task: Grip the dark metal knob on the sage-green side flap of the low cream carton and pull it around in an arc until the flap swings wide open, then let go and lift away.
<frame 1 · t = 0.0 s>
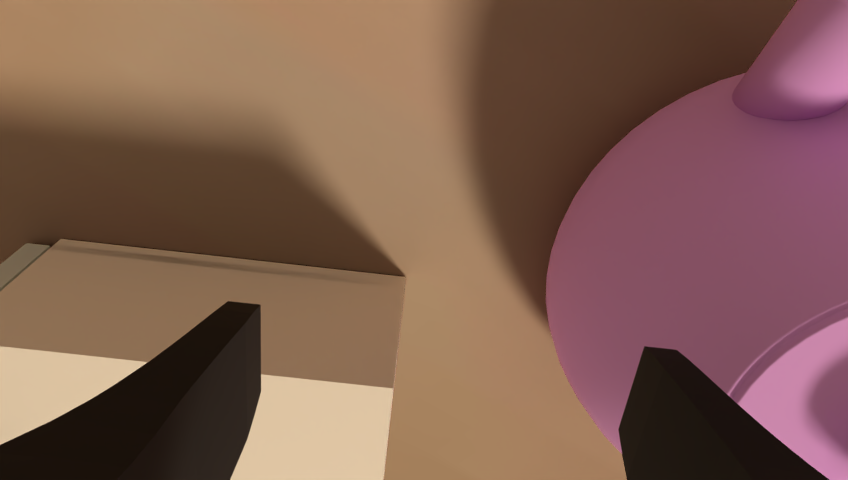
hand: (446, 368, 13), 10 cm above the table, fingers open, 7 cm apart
teapot: (740, 231, 23), on the table
carton: (238, 432, 27), on the table
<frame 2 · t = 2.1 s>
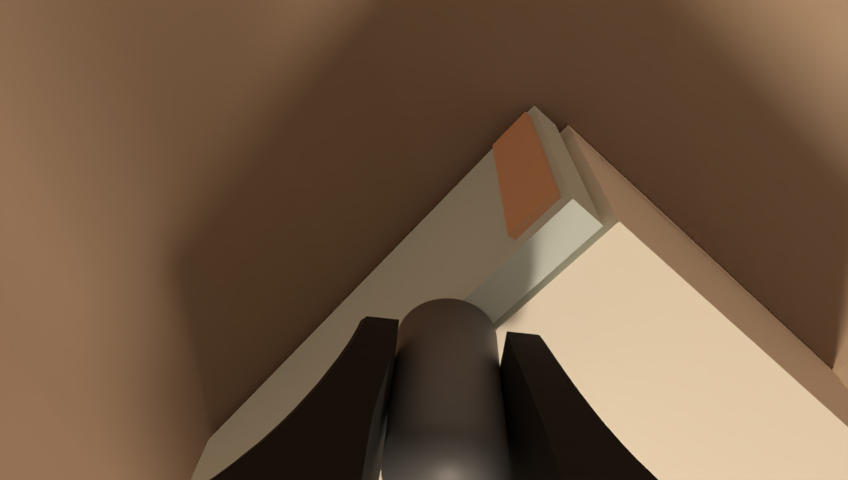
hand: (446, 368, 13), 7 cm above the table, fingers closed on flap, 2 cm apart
flap: (334, 410, 16), point 5 cm above the table, hinge at 0.0°, touching gripper
carton: (516, 415, 22), on the table
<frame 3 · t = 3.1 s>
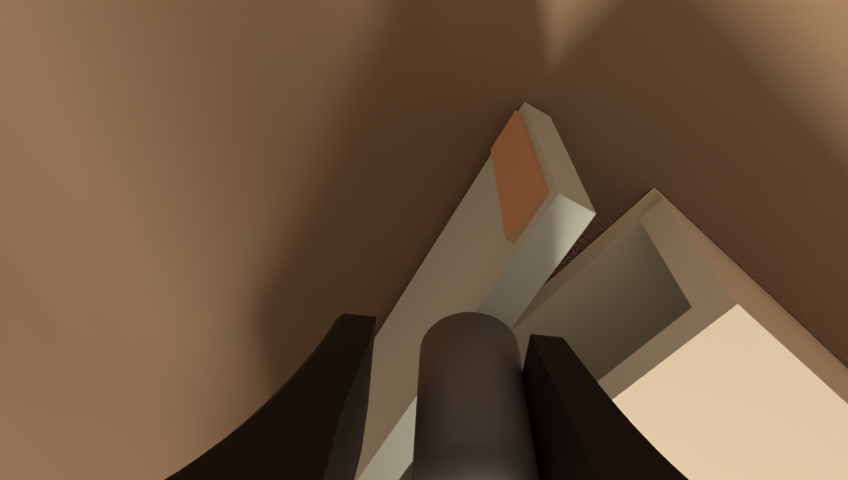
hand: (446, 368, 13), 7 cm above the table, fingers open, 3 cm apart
flap: (383, 437, 16), point 5 cm above the table, hinge at 12.2°, touching gripper
carton: (588, 456, 23), on the table
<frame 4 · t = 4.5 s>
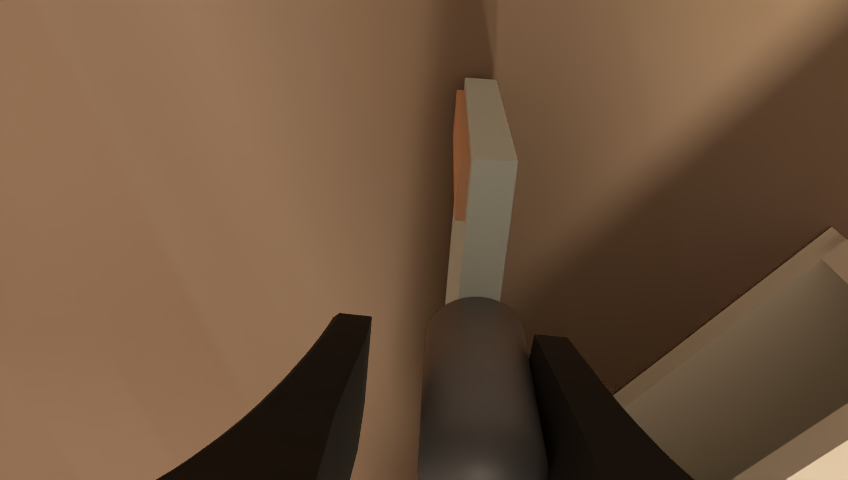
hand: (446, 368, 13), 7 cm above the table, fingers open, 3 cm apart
flap: (457, 443, 16), point 5 cm above the table, hinge at 37.4°, touching gripper
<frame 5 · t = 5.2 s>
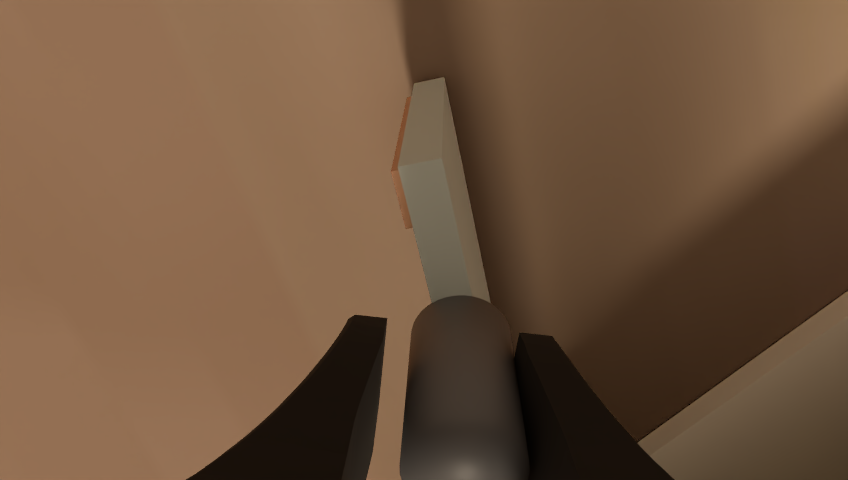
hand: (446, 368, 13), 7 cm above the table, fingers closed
flap: (491, 440, 16), point 5 cm above the table, hinge at 53.5°, touching gripper
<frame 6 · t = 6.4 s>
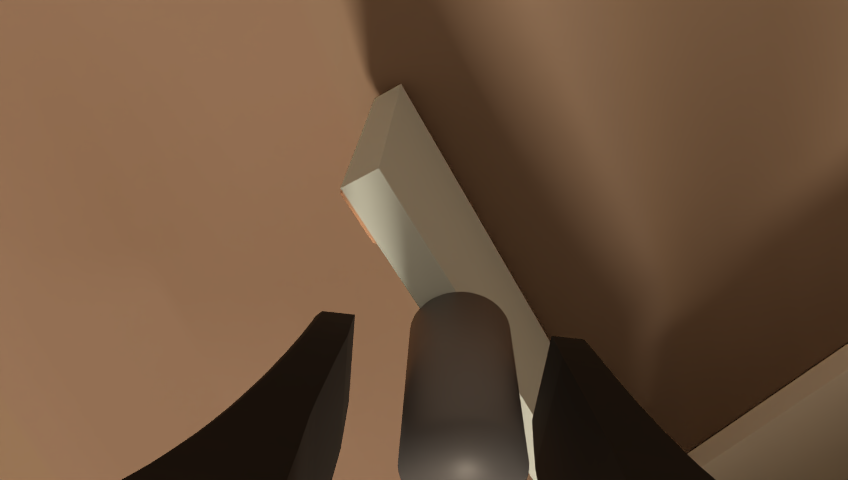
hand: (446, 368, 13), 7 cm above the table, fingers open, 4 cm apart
flap: (538, 425, 16), point 5 cm above the table, hinge at 70.5°
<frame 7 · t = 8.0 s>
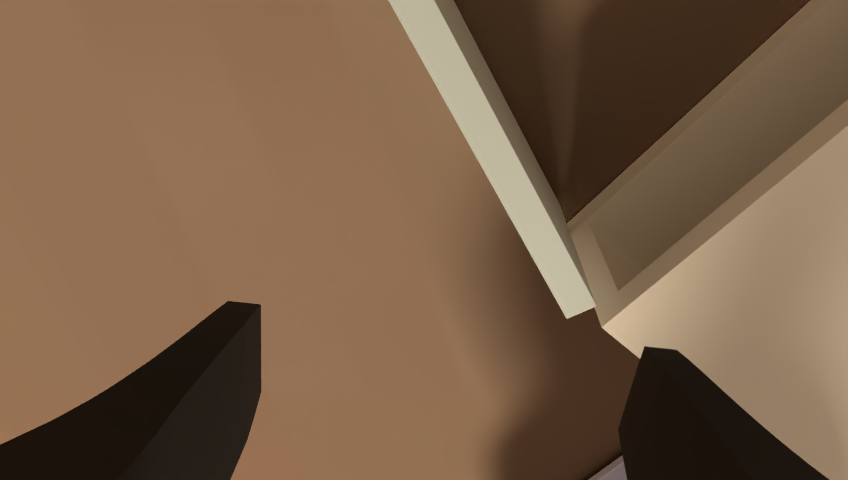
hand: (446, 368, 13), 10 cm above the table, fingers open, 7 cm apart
flap: (428, 19, 15), point 5 cm above the table, hinge at 70.5°
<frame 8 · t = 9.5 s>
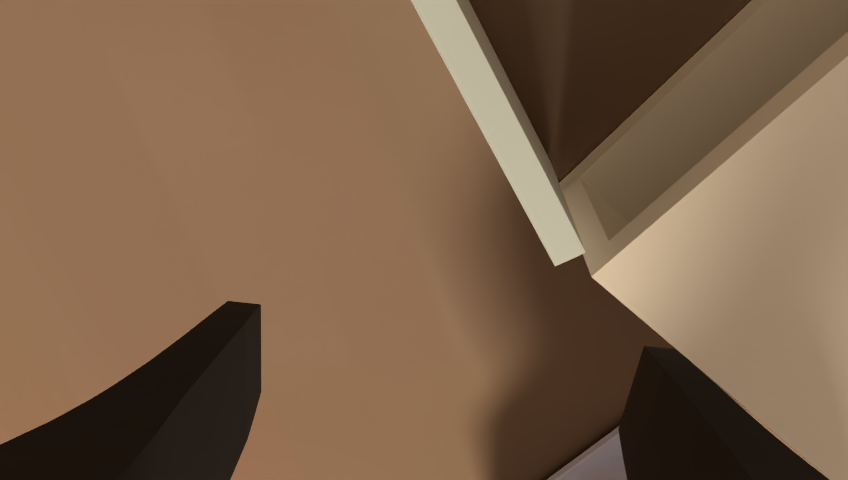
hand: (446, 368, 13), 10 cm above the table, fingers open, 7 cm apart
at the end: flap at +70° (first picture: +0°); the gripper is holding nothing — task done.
